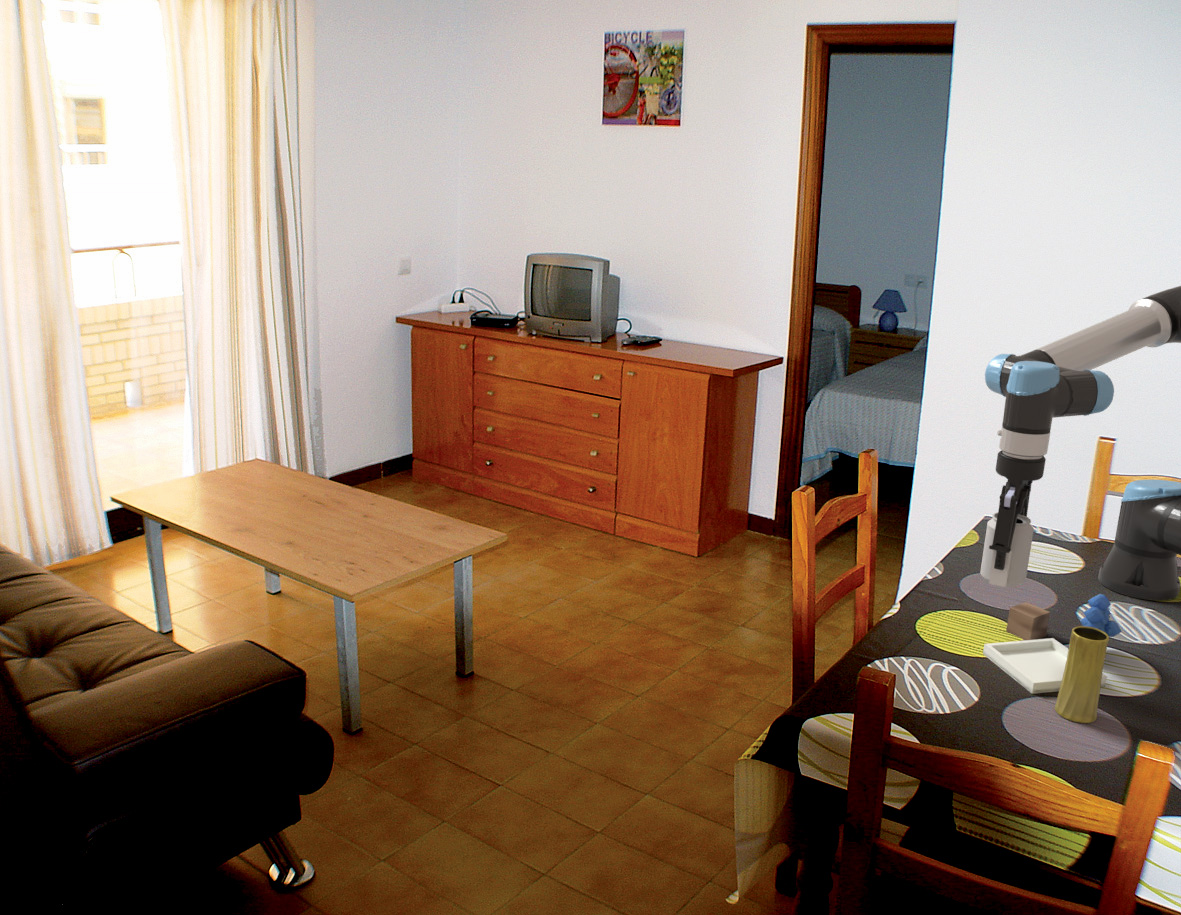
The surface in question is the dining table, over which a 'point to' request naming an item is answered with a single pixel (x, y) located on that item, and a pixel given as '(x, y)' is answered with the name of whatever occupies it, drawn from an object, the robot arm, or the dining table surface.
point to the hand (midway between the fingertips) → (1003, 577)
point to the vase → (1082, 675)
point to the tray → (1032, 663)
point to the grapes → (1100, 616)
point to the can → (1018, 548)
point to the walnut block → (1027, 621)
